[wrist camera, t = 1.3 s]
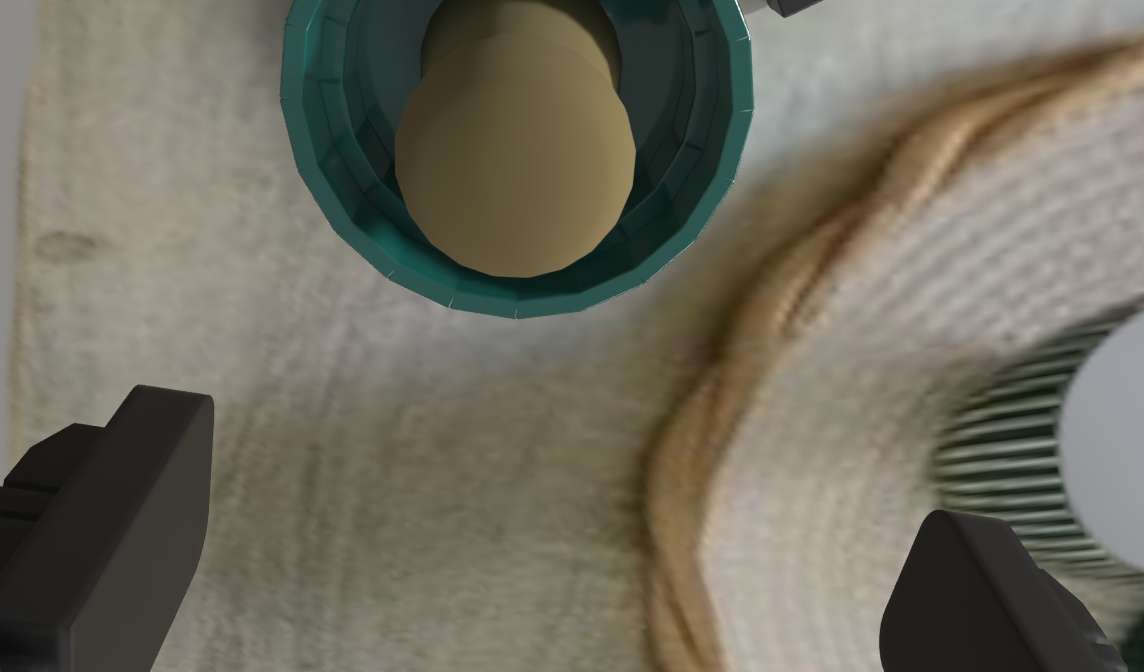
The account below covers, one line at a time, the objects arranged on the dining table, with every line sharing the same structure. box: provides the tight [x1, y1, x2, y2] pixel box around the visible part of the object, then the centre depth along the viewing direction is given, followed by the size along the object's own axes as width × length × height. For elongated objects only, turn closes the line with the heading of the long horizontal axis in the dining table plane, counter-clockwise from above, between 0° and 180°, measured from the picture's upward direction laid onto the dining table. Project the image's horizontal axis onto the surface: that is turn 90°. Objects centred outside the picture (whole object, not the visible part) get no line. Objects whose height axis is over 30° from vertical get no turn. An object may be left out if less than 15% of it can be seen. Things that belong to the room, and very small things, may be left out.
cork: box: [395, 0, 636, 278], centre depth 26 cm, size 6×6×11 cm
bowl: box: [280, 0, 754, 319], centre depth 29 cm, size 12×12×5 cm
